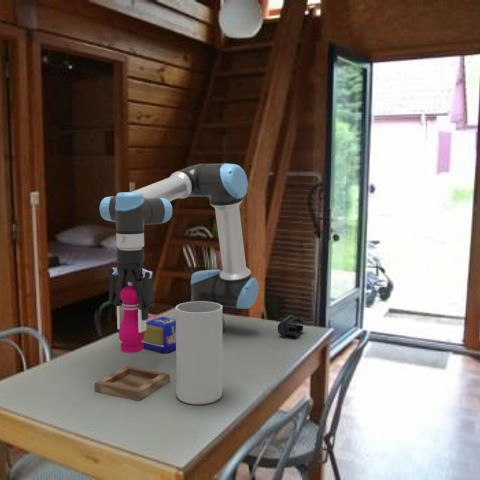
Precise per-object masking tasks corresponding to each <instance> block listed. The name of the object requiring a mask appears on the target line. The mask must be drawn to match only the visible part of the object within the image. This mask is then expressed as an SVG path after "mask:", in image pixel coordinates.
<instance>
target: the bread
mask: <svg viewBox="0 0 480 480" xmlns="http://www.w3.org/2000/svg"><path fill="white" fill-rule="evenodd" d="M119 330H120V329H117V333H118V334H119ZM141 342H143V349H148V350H152V351H156V352H160V353H163V354H167V353H170V352H172V351H173V352H174V351H176V318H175V319H174V318H170V317H167V316H163V315H157V314H151V313H148V319H147V320H146V330H145V337H144V339H143V340H142V341H141Z"/></svg>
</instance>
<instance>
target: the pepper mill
mask: <svg viewBox="0 0 480 480" xmlns="http://www.w3.org/2000/svg"><path fill="white" fill-rule="evenodd" d="M120 298H121V300H122V301H123V303H122V305H123V307H122V308H123V309H124V319H123V322H122V325H121V327H120V330H119V333H118V339H119V340H120V342H121V344H120V351H121V352H122V353H125V354H136V353H140V352H142V351H144V347H143V342H141V341H142V340H143V339H144V337H145V331H143V332H138V309H139V308H141V307H140V304H139V301H138V297H137V294H136V290H135V287H134V286H133V284H132V282H129V281H128V285H127V286H126V287H124V288H123V289H122V290H121V293H120Z"/></svg>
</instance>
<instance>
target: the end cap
mask: <svg viewBox="0 0 480 480" xmlns="http://www.w3.org/2000/svg"><path fill="white" fill-rule="evenodd" d="M299 323H304V318H303V317H297V316H295V317H294V314H290V315H288V316H287V317H285V318H284V319H283V320H281V321H280V322H279V323H278V325H277V332H278V334H279V335H280V336H281V337H282V338H283V339H286V340H292V341H293V340H294V341H295V340H297V339H299V338H300V337H301V336H302V335H303V333H304V332H303V331H304V326H303V325H299Z"/></svg>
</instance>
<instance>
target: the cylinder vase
mask: <svg viewBox="0 0 480 480" xmlns="http://www.w3.org/2000/svg"><path fill="white" fill-rule="evenodd" d="M222 313H223V306H222V305H220V304H218V303H214V302H204V301H196V302H191V301H186V302H183V303H179V304H177V305H176V306H175V319H176V350H175V362H176V363H175V369H176V371H175V375H176V376H175V377H176V378H175V379H176V380H175V381H176V382H175V383H176V385H175V386H176V397H177V399H178V400H179V401H181V402H183V403H185V404H190V405H208V404H212V403H215V402H217V401H218V400H219V399H221V398H222V395H223V332H222Z"/></svg>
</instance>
